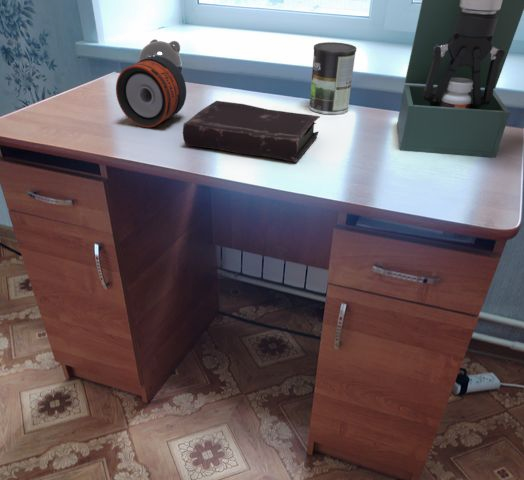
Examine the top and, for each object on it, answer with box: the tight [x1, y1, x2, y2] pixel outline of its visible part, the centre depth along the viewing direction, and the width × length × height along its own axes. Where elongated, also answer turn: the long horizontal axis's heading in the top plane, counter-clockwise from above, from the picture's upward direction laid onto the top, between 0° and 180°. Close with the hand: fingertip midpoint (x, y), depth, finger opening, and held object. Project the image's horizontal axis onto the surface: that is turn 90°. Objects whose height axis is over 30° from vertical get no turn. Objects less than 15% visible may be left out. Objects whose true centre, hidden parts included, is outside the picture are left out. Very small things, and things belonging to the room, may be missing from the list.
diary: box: [182, 100, 321, 163], centre depth 110 cm, size 19×25×5 cm
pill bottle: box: [440, 78, 473, 109], centre depth 107 cm, size 6×6×11 cm
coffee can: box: [308, 41, 358, 116], centre depth 126 cm, size 10×10×14 cm
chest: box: [396, 84, 511, 158], centre depth 112 cm, size 17×20×9 cm
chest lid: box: [404, 0, 524, 90], centre depth 109 cm, size 18×20×7 cm
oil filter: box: [115, 56, 187, 128], centre depth 116 cm, size 13×12×13 cm
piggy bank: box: [138, 38, 183, 73], centre depth 138 cm, size 11×15×12 cm
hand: (446, 135), depth 111 cm, fingers closed on pill bottle, 6 cm apart
